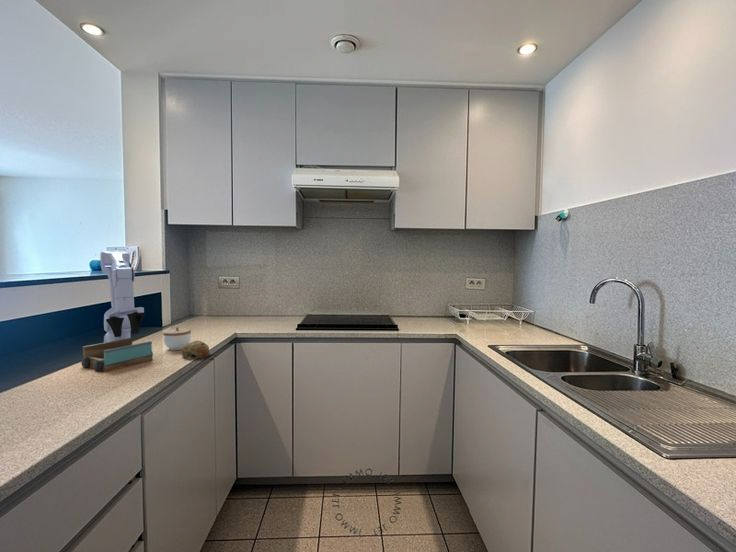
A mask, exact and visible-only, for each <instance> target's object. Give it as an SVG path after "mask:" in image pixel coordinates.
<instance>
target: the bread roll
mask: <svg viewBox="0 0 736 552" xmlns="http://www.w3.org/2000/svg"><path fill="white" fill-rule="evenodd" d="M209 352H210V347H209V345H208V344H207V343H206V342H204V341H202V340H193V341H190V342H189V344H186V345H185V346H184V347H183V349H181V355H182V358H184V359H187V360H194V359H195V360H196V359H197V360H198V359H204V358H206V357H209V355H210V353H209Z"/></svg>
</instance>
